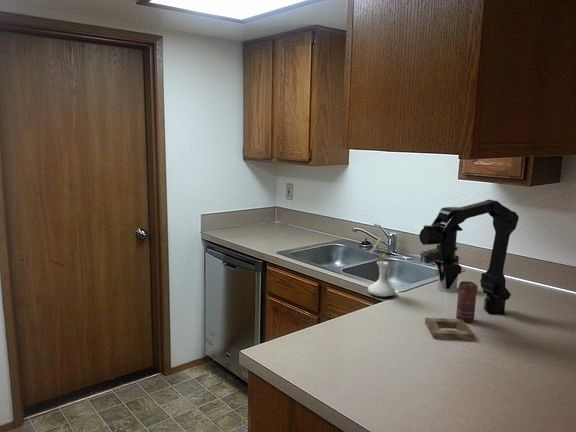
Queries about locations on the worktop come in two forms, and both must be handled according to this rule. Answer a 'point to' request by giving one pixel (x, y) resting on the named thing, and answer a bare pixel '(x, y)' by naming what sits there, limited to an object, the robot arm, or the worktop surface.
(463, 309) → the can
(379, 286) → the flower in vase
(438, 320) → the socket block
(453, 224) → the robot arm
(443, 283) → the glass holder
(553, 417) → the worktop surface
